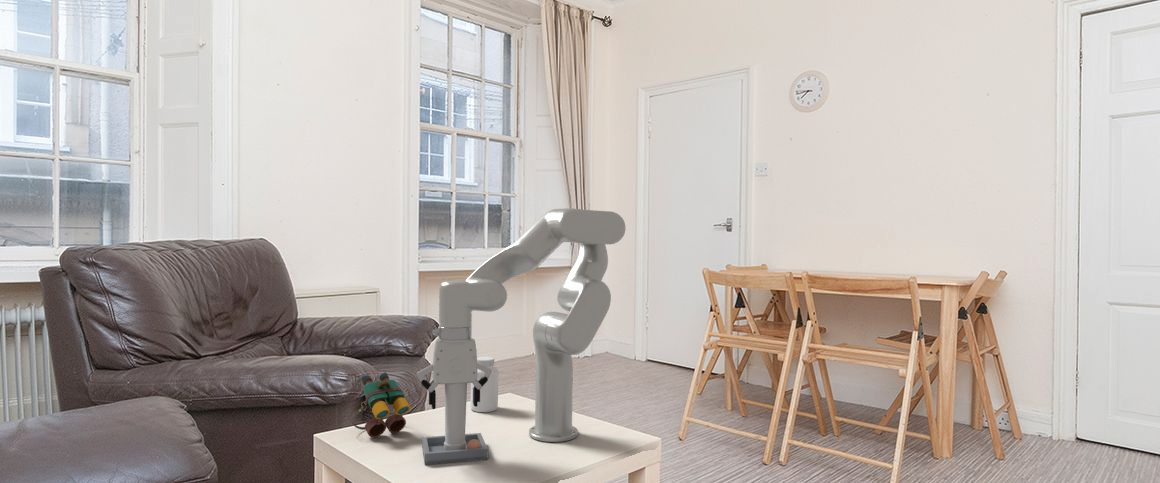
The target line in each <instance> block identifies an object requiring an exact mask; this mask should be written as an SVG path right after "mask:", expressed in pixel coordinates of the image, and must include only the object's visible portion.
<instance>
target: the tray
mask: <svg viewBox="0 0 1160 483" xmlns="http://www.w3.org/2000/svg"><path fill="white" fill-rule="evenodd" d="M472 439H476V440H478V441H479V442H480V444H481V448H474V449H467V443H468V442H469V441H470V440H472ZM421 441H422V442H421V444H422V445H421V447H422V453H423V455H422V456H423V462H424V463H423V464H424V466H429V465H430V466H431V465H439V464H440V465H441V464H451V463H452V464H453V463H463V462H464V463H466V462H473V461H474V462H477V461H486V460H487V461H488V450H489V449H488V447H487V445H486V442H485V439H484V437H483V435H482V433H481V432H476V433H465V441H466V449H461V450H449V451H445V449H444V442H445V435H437V436H434V435H433V436H423V437H422V438H421Z"/></svg>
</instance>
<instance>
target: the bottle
mask: <svg viewBox="0 0 1160 483" xmlns="http://www.w3.org/2000/svg"><path fill="white" fill-rule="evenodd" d="M467 391H468V383H462V384H459V383H457V384H444V436H445V442H444V449H445V451H449V450H461V449H466V441H465V434H466V426H467V425H466V422H467V393H468V392H467Z"/></svg>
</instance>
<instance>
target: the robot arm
mask: <svg viewBox="0 0 1160 483" xmlns="http://www.w3.org/2000/svg"><path fill="white" fill-rule="evenodd" d="M625 233H626V223H625V220H624V218H623V217H622V215H620V214H619V213H617V212H614V211H608V210H591V209H590V210H589V209H581V208H553V209H551V210H548V211H547V212H545V213H544V214H543V215H542V216H540V218H538V220H537V221H536V222H534V223H533V225H532V226H530V227H529V228H528V229H527V230H526V231H525V232H524V233H522V235H521V236H519V238H517V239H516V240H515V241H514V242H513V243H512V244H510V245H508V246H507V247H505V248H504V249H502V250H501V251H500V252H498V253H497V254H495V255H493V256H492V257H490V258H488V260H486V261H485V262H483V263H482V264H481V265H480V266H479V267H478V268H477V269H475V270H474V271H473V272H472V273H471V274H470V275H469V276H468V277H467V278H466V279H465V281H464V280H445V281H442V282H441V283H440V284H439V293H438V294H439V296H438V298H439V301H438V302H439V303H438V306H439V307H438V308H439V309H438V327H437V328H436V329H435V328H434V329H432V335H433V336H437V337H438V338H436V339H435V340H436V341H435V344H434V347H433V348H434V350H433V358H432V363H431V364H429V365H428V366H426V367H424V368H422V369H420V370H419V371H417V372H416V376H417V378H418V380H419V382H420V383H421V385H422V386H423V387H424V388H425V390H427V391H428V405H429V406H431V409H432V410H436V409H437V408H436V407H437V404H436V401H437V396H436V394H437V393H436V392H437V391H436V390H435V389H436V388H437V387H438V386H439V385H445V384H457V383H459V384H462V383H467V384H471V383H473V385H474V388H473V405H474V406H475V407H477V402H480V389H481V388H482V386H483V385H484V384H485V383H486V382H487V381H488V378H489V377H490V375H491V373H492V370H491V369H490V368H488V367H486V366H484V365H482V364H480V363H478V362H477V358H478V352H477V351H478V350H477V346H476V345H477V344H476V341H475V340H476V339H475V338H474V337H472V330H473V329H472V327H473V326H472V324H473V323H472V322H473V321H472V319H473V318H472V317H473V316H472V315H473V311H477V312H486V313H487V312H488V313H491V312H496V311H499V310H500V309H501V308H503V307H504V306H505V305H506V302H507V301H508V300H507V299H508V292H507V289H506V287H505V286H504V285H503V284H505V283H506V282H507V281H509V280H510V279H512V278H515V277H517V276H520V275H523V274H526V273H529V272H532V271H533V270H535V269H537V268H539V267H540V266H541V265H542V264H543V263H544V261H545V260H547V259H548V258H549V256H551V254H553V253H554V252H555V250H557V249H558V248H559V247H560V246H561V245H562V244H563V243H574V244H575V243H577V246H578V247H577V248H578V252H577V256H576V260H574V263H573V265H572V267H571V268H570V270H569V272H568V274H567V275H566V277H565V279H564V280H563V282H562V284H561V286H560V287H559V290H558V293H557V298H556V299H557V303H558V305H559V307H560V308H562V309H563V310H565V311H567V312H568V313H563V312H558V311H548V312H545V313H543V314H541V315H539V317H538V318H537V319H536V320H535V322H534V324H533V328H532V339H533V343H534V344H533V345H534V351H535V352H534V353H535V402H534V403H535V411H534V413H535V414H534V415H535V416H534V418H535V419H534V423H535V424H534V425H533V426H532V427H530V428H529V430H528V435H529V436H530V438H532V439H534V440H537V441H540V442H547V443H558V442H559V443H560V442H567V441H570V440H574V439H575V438H577V437H578V435H579V430H578V428H577V427H575V426H573V388H574V387H573V379H574V378H573V377H574V376H573V375H574V365H573V364H574V363H573V358H572V357H573V356H577V355H579V354H581V353H583V352H584V351H586V349H587V348H588V347H589V346H590V344H591V343H592V341H593V340H594V338H595V336H596V334H597V332H598V331H599V328H601V325H602V323H603V322H604V320H605V317H606V316H607V313H608V312H609V309H610V306H611V301H612V299H611V297H612V295H611V291H610V288H609V286H608V285H607V284H606V283H605V282H604V281H602V280H603V278H604V276H605V273H606V272H607V268H608V264H609V255H608V250H607V246H606V245H615V244H617V243H619V242H620V241H621V240H622V239H623V238H624V236H625ZM478 369H479V370H481V371H483V372H485V373H484V376H483V377H482V378H481V379H480V380H479V381H478V380H477V373H478ZM431 372H432V380H431V381H430V382H429V380H427V378H426V377H425V376H427V375H428V374H429V373H431Z"/></svg>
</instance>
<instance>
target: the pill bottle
mask: <svg viewBox="0 0 1160 483" xmlns="http://www.w3.org/2000/svg"><path fill="white" fill-rule="evenodd" d="M477 362H478V363H480V364H482V365H484V366H486V367H488V368H490V369H491V370H492V373H491V375H490V377H489V378H488V381H487V382H486V383H485V384H484V385H483V386H482V388H481V389H480V402H477V407H475V406H474V405H473V388H474V385H473V383H470V410H471V411H473V412H476V413H490V412H491V413H492V412H495V411H497V410H498V406H499V369H498V367H496V366H495V358H494V357H492V356H479V357H478V356H477ZM484 373H485V372H483V371H481V370H479V369H478V373H477V380H478V381H479V380H480V379H481V378H482V377H483V376H484Z"/></svg>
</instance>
